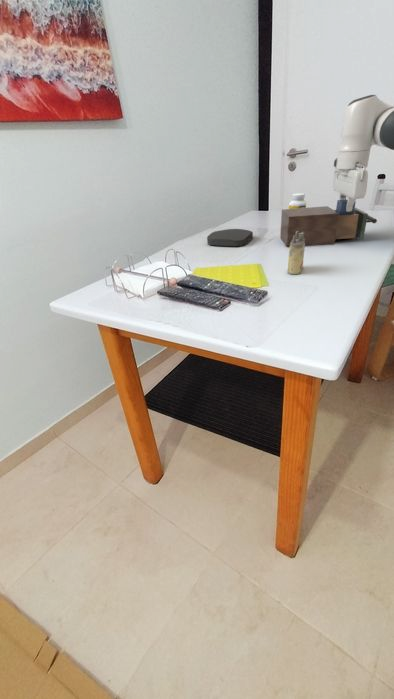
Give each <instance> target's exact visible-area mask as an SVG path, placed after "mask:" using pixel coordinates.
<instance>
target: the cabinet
mask: <svg viewBox="0 0 394 699" xmlns="http://www.w3.org/2000/svg"><path fill="white" fill-rule="evenodd" d="M334 210H335V209H333V208H331V207H329V205H328V206H326V205H325V206H324V205H323V206H311V207H306V208H297V209H289V208H284V209H281V220H280V235H279V237H280V239H281V241H282V242H283V244H284V246H286V248H289V247H290V243H291V241H292V240H293V236H294V235H295V234H296V231H299V233H301V232H304V239H305V241H304V243H305V247H309V246H310V247H312V246H325V245H335V244H336V240H337V239H336V232H337V225H338V218H339V213H338V212H336V211H334ZM298 237H299V235H298Z"/></svg>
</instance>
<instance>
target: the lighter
mask: <svg viewBox="0 0 394 699" xmlns="http://www.w3.org/2000/svg"><path fill="white" fill-rule="evenodd" d="M298 235H299V237H298ZM304 241H305V239H304V232H301V233H299V231H296V234H295V235H294V236H293V240H292V241H291V243H290V247H288V261H287V271H286V272H287V274H289V275H299V274H301V272H302V270H303V269H304V258H305V257H304V256H305V248H306V246H305V243H304Z"/></svg>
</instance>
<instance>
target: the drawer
mask: <svg viewBox="0 0 394 699" xmlns="http://www.w3.org/2000/svg"><path fill="white" fill-rule="evenodd" d="M333 210H334V211H336V209H333ZM377 222H378V219H377V218H374V217H373V216H371V215H369V213H367V212H365V211H363V210H361V209H359V208H357V207H355V209H354V214H353V215H339V218H338V225H337V232H336V239H335V240H343V239H344V240H345V239H359V240H364V237H365V232H366V226H367V223H368V224H369V223H371V224H377Z"/></svg>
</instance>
